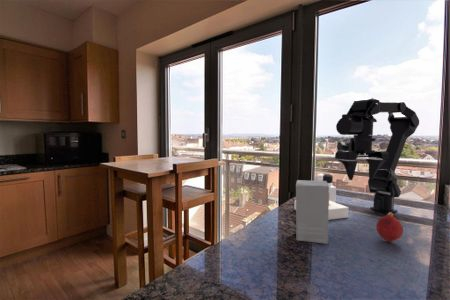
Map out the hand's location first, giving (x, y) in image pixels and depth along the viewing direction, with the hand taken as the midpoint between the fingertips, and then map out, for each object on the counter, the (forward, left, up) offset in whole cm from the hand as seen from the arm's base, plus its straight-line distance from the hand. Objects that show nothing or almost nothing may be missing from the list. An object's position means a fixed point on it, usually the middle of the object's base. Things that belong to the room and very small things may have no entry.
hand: (360, 179), depth 83 cm
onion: (+10, +19, -13) cm, 25 cm away
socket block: (+12, -6, -13) cm, 19 cm away
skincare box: (+29, +11, -13) cm, 34 cm away
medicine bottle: (0, -18, -13) cm, 22 cm away
